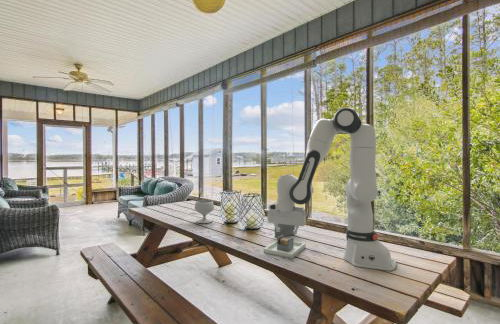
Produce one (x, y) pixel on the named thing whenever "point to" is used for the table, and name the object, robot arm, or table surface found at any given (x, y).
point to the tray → (290, 255)
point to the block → (284, 241)
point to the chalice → (204, 209)
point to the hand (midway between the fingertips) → (286, 232)
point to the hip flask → (284, 230)
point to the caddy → (285, 247)
